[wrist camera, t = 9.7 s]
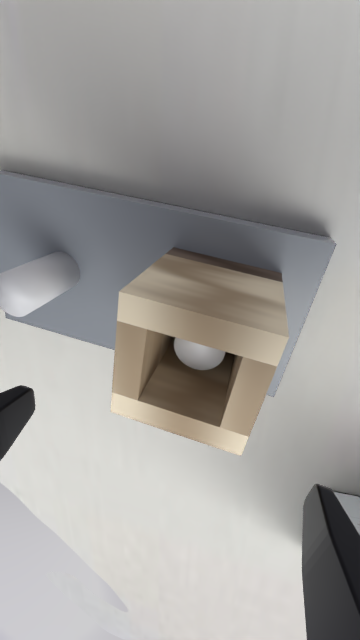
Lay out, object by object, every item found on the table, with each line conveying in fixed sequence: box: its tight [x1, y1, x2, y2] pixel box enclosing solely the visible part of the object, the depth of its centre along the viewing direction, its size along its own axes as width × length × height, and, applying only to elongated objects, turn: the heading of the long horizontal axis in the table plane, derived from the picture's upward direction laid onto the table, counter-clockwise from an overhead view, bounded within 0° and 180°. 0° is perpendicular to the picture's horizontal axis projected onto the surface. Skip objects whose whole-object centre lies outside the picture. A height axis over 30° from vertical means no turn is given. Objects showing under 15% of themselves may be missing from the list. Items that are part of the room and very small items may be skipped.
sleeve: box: [111, 247, 289, 456], centre depth 15 cm, size 6×6×7 cm
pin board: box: [0, 171, 336, 397], centre depth 17 cm, size 20×10×6 cm, turn 81°
